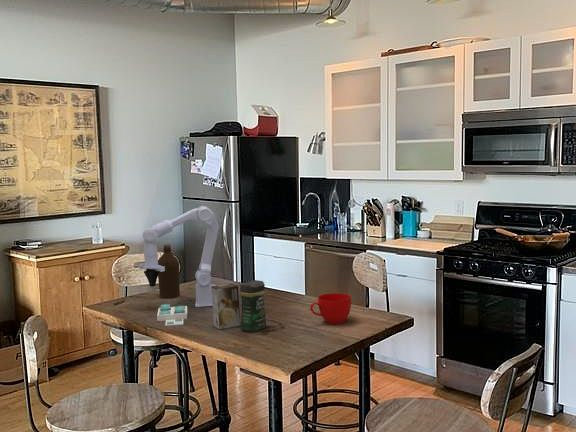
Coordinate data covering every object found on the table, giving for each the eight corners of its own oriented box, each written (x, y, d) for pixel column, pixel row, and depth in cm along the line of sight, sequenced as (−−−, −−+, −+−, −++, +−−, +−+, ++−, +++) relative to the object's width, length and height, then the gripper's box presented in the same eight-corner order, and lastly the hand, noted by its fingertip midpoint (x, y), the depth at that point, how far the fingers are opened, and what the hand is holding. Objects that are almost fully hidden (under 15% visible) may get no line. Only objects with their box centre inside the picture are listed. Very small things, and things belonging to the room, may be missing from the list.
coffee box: (234, 322, 237) (232, 282, 235) (240, 325, 231) (239, 285, 229) (213, 325, 233) (211, 285, 231) (218, 329, 227) (216, 288, 225)
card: (183, 319, 243) (183, 318, 242) (183, 324, 236) (183, 323, 236) (166, 321, 241) (166, 319, 241) (165, 325, 235) (165, 324, 235)
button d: (169, 315, 247) (169, 310, 247) (169, 318, 243) (169, 312, 243) (160, 316, 246) (160, 310, 246) (160, 319, 243) (159, 313, 242)
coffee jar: (253, 333, 220) (251, 284, 218) (237, 330, 225) (235, 282, 223) (270, 327, 228) (268, 279, 226) (254, 324, 233) (252, 277, 231)
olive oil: (185, 296, 283) (182, 244, 280) (164, 300, 277) (161, 247, 274) (175, 292, 291) (172, 242, 289) (154, 296, 285) (151, 245, 282)
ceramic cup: (304, 321, 234) (303, 296, 233) (341, 315, 240) (341, 291, 239) (318, 330, 222) (317, 304, 221) (357, 323, 229) (357, 298, 228)
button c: (170, 309, 253) (170, 303, 252) (170, 311, 249) (169, 305, 249) (161, 310, 252) (160, 304, 252) (160, 312, 248) (160, 306, 248)
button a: (184, 311, 254) (184, 305, 253) (184, 313, 250) (184, 307, 250) (175, 311, 253) (175, 306, 253) (175, 314, 249) (175, 308, 249)
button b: (184, 312, 248) (184, 306, 247) (184, 314, 244) (183, 308, 244) (175, 312, 247) (174, 306, 247) (174, 315, 243) (174, 309, 243)
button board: (187, 311, 255) (187, 305, 255) (187, 319, 243) (186, 313, 243) (159, 313, 253) (158, 308, 253) (157, 321, 241) (157, 315, 241)
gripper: (132, 255, 259) (134, 286, 261) (155, 258, 251) (157, 289, 252) (145, 253, 265) (147, 283, 266) (167, 255, 256) (169, 286, 258)
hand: (152, 286), depth 260 cm, fingers closed
